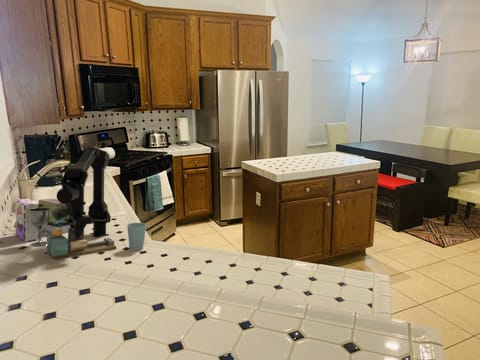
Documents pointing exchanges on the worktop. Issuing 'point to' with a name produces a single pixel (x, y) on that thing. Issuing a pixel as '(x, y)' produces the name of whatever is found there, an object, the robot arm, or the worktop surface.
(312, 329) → the worktop surface
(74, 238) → the carriage
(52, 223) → the tea box
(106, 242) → the rail
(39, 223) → the wine glass
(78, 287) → the worktop surface
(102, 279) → the worktop surface
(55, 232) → the button
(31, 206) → the candy box
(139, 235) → the cup
